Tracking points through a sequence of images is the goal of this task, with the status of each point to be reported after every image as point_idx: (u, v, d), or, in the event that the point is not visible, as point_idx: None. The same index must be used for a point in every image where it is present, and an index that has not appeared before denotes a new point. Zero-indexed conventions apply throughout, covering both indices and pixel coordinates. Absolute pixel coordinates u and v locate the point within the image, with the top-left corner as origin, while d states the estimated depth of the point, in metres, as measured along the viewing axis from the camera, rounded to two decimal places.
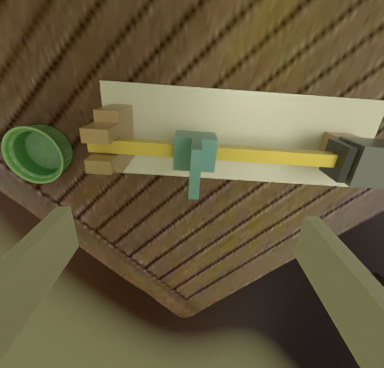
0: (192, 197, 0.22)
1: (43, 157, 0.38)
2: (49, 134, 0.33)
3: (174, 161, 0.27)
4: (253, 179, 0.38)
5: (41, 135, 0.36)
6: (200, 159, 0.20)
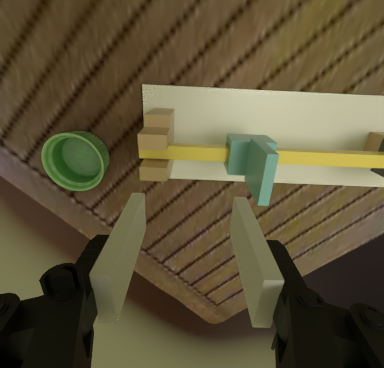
0: (262, 203, 0.21)
1: (79, 164, 0.37)
2: (90, 140, 0.32)
3: (230, 166, 0.26)
4: (294, 181, 0.37)
5: (78, 141, 0.35)
6: (275, 164, 0.19)
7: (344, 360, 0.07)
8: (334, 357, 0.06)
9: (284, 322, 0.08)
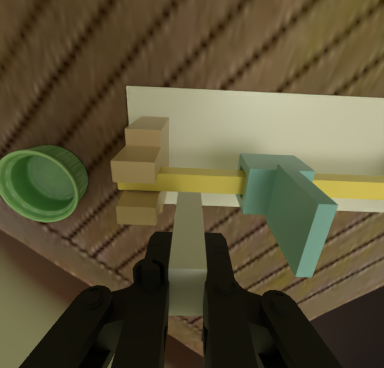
0: (302, 274, 0.13)
1: (50, 186, 0.29)
2: (59, 159, 0.25)
3: (246, 202, 0.18)
4: None
5: (47, 158, 0.28)
6: (330, 219, 0.12)
7: (256, 344, 0.08)
8: (246, 337, 0.07)
9: (207, 313, 0.08)
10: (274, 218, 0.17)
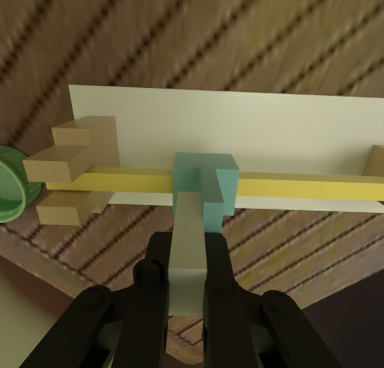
0: None
1: (3, 186, 0.29)
2: (3, 159, 0.24)
3: (174, 201, 0.18)
4: (277, 207, 0.30)
5: None
6: (219, 217, 0.12)
7: (256, 344, 0.08)
8: (246, 337, 0.07)
9: (207, 313, 0.08)
10: None
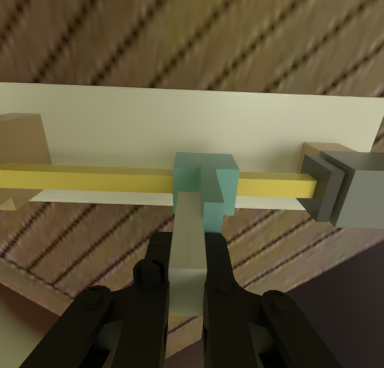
0: None
1: None
2: None
3: (174, 201, 0.18)
4: None
5: None
6: (220, 217, 0.12)
7: (256, 344, 0.08)
8: (246, 337, 0.07)
9: (206, 313, 0.08)
10: None
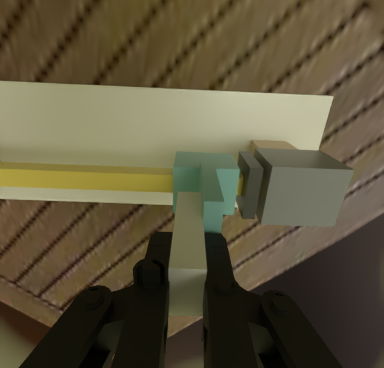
0: None
1: None
2: None
3: (174, 200, 0.18)
4: (168, 203, 0.29)
5: None
6: (220, 216, 0.12)
7: (256, 344, 0.08)
8: (246, 337, 0.07)
9: (206, 313, 0.08)
10: None
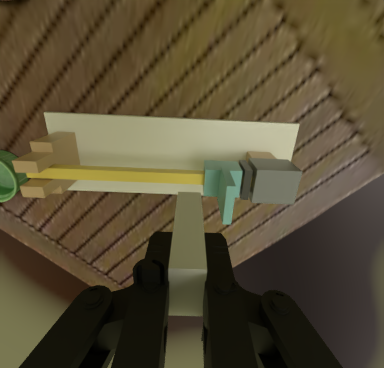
0: (226, 222, 0.27)
1: (2, 178, 0.42)
2: (2, 160, 0.38)
3: (205, 189, 0.32)
4: None
5: None
6: (234, 193, 0.25)
7: (256, 344, 0.08)
8: (246, 337, 0.07)
9: (207, 313, 0.08)
10: (219, 197, 0.30)
